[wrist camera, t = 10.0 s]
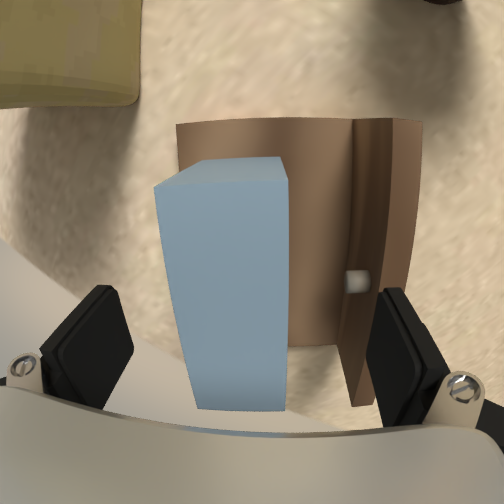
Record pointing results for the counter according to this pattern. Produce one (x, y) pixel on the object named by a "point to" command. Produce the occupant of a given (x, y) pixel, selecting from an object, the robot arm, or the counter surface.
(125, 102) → the cheese
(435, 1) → the coffee mug
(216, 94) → the counter surface
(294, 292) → the shelf
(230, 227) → the light blue block
